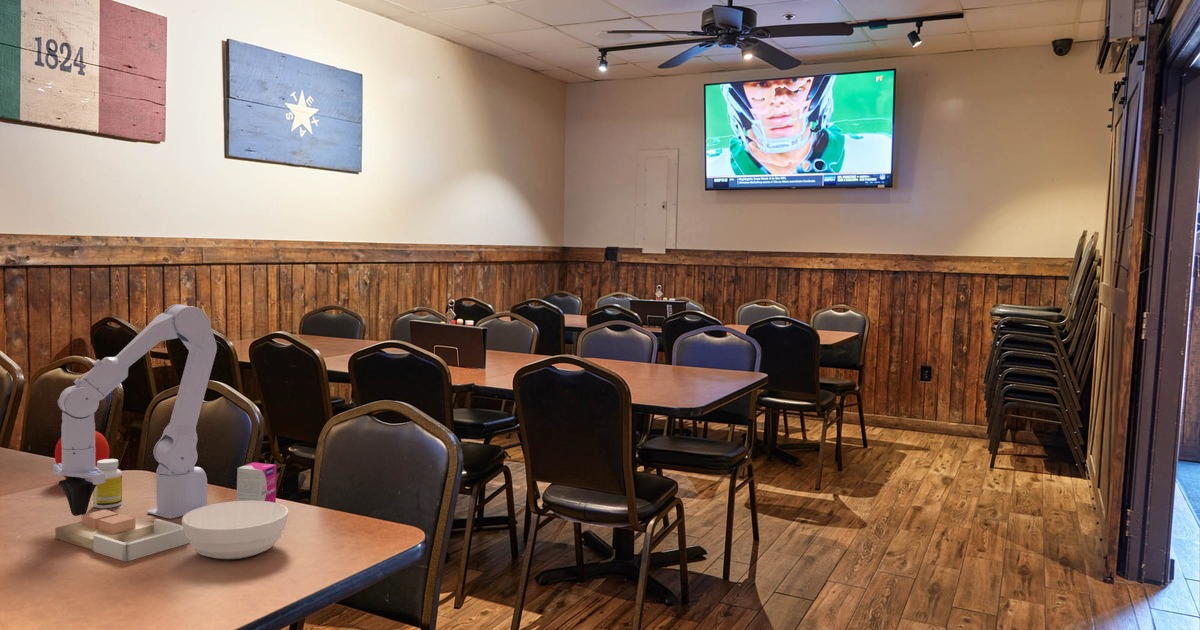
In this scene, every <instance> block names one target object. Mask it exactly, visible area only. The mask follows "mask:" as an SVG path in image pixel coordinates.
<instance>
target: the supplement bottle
mask: <svg viewBox="0 0 1200 630" xmlns="http://www.w3.org/2000/svg"><path fill="white" fill-rule="evenodd" d="M118 467H119V459H116V458H108V459H104V460H99V461H98V462H97V468H98V469H99V470H100V471H101V472H103V473H105V483H101V484H97V486H96V487H95V489H94V491H93V493H92V496H93V499H92V500H93V507H94V508H96V509H111V508H116V507H118V506H121V505H122V504H123V503H122V502H123V473H122V470H121V469H119V468H118Z"/></svg>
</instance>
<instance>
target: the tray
mask: <svg viewBox="0 0 1200 630" xmlns="http://www.w3.org/2000/svg"><path fill="white" fill-rule="evenodd" d="M153 523H154V533H153V534H149V535H146V536H142V537H138V538H135V539H131V540H127V541H124V542H121V541H118V540H115V539H111V538H108V537H105V536H102V535H98V534H97V535H93V546H94V550H93V552H95V553H97V554H99V555H103V556H106V557H110V558H112V559H116V560H118V561H122V562H125V563H127V562H130V561H133V560H136V559H140V558H143V557H148V556H149V555H153V554H157V553H160V552H164V551H167V550H170V549H175V548H177V547H181V546H184V545H187V544H190V541H189V539H188V538H187V537H186V536H185V534H184V529H183V524H179V523H174V522H171V521H167V520H164V519H160V518H155V519H153Z"/></svg>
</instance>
